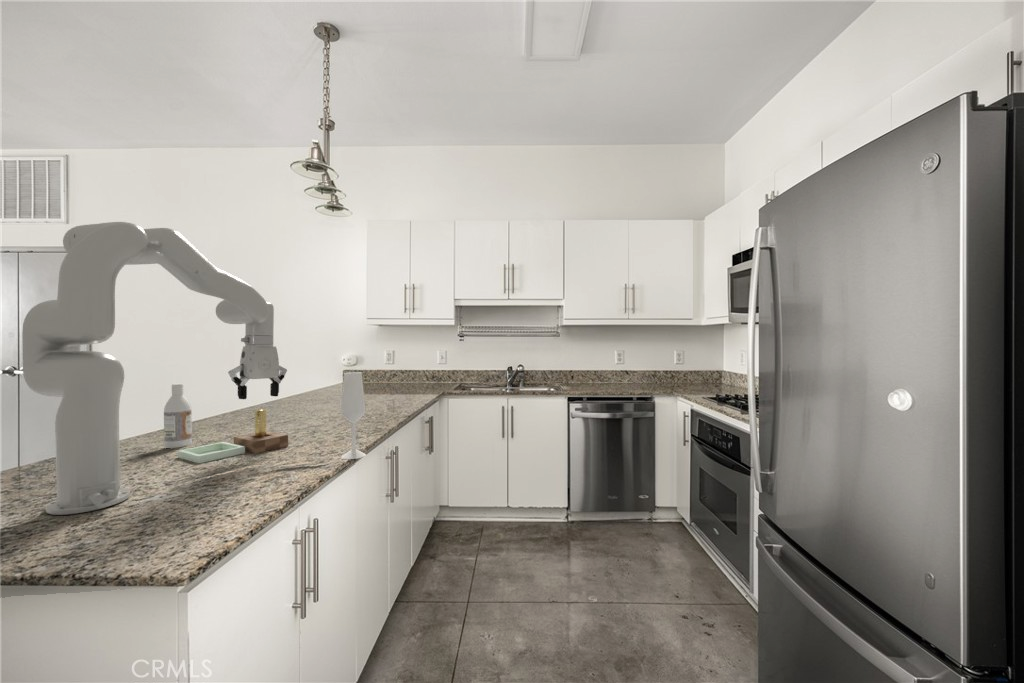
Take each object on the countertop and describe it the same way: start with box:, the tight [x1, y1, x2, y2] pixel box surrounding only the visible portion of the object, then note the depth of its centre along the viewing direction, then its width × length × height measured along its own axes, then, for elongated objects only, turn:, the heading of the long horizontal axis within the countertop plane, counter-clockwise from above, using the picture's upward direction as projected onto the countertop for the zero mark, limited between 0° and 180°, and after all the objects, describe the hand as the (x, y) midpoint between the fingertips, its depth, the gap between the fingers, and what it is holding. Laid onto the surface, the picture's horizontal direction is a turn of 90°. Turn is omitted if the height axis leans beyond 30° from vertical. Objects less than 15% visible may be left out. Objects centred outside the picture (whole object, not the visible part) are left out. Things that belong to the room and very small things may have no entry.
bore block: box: [233, 430, 289, 454], centre depth 136 cm, size 12×10×4 cm
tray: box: [177, 441, 246, 464], centre depth 127 cm, size 12×12×2 cm
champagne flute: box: [340, 371, 367, 460], centre depth 127 cm, size 7×7×24 cm
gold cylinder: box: [254, 408, 267, 438], centre depth 136 cm, size 3×3×12 cm
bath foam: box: [163, 383, 193, 449], centre depth 139 cm, size 7×7×20 cm
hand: (258, 397), depth 135 cm, fingers open, 9 cm apart
